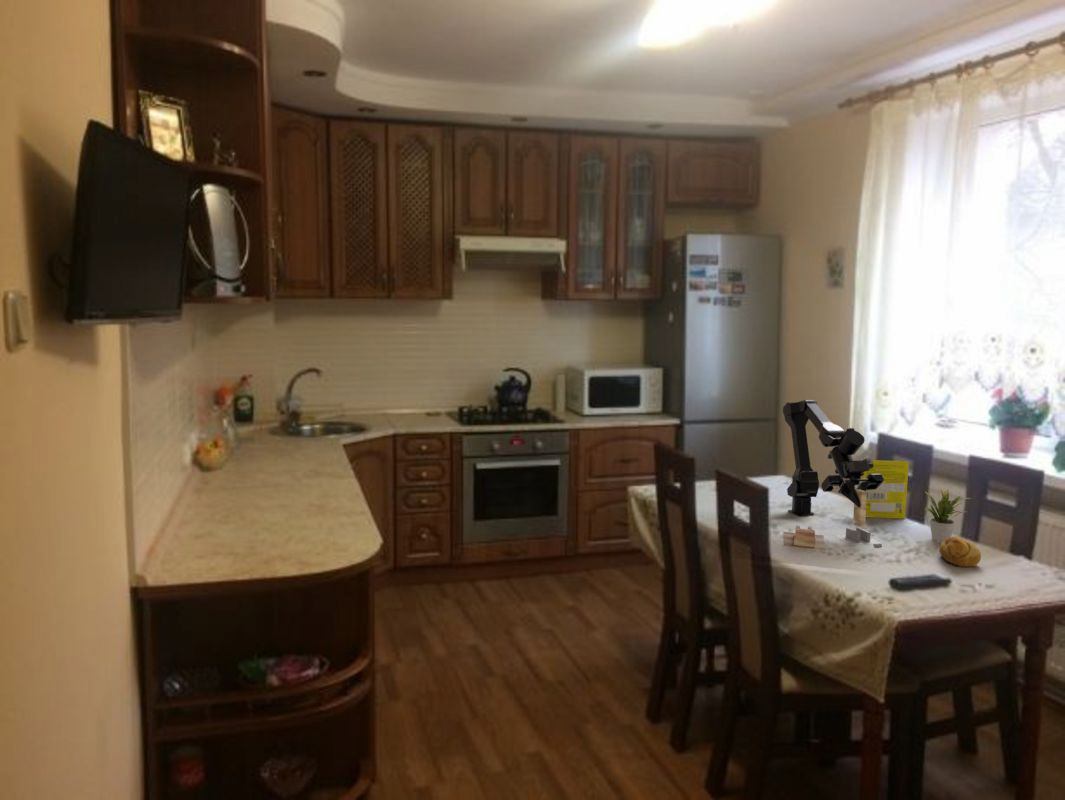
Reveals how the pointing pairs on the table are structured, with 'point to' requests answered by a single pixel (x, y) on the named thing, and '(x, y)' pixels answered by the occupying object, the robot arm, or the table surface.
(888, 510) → the food package
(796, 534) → the upper offcut
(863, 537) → the slate stand
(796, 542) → the lower offcut
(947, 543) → the bread roll
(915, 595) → the table surface
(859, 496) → the tan wooden block
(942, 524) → the house plant
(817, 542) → the offcut rack
